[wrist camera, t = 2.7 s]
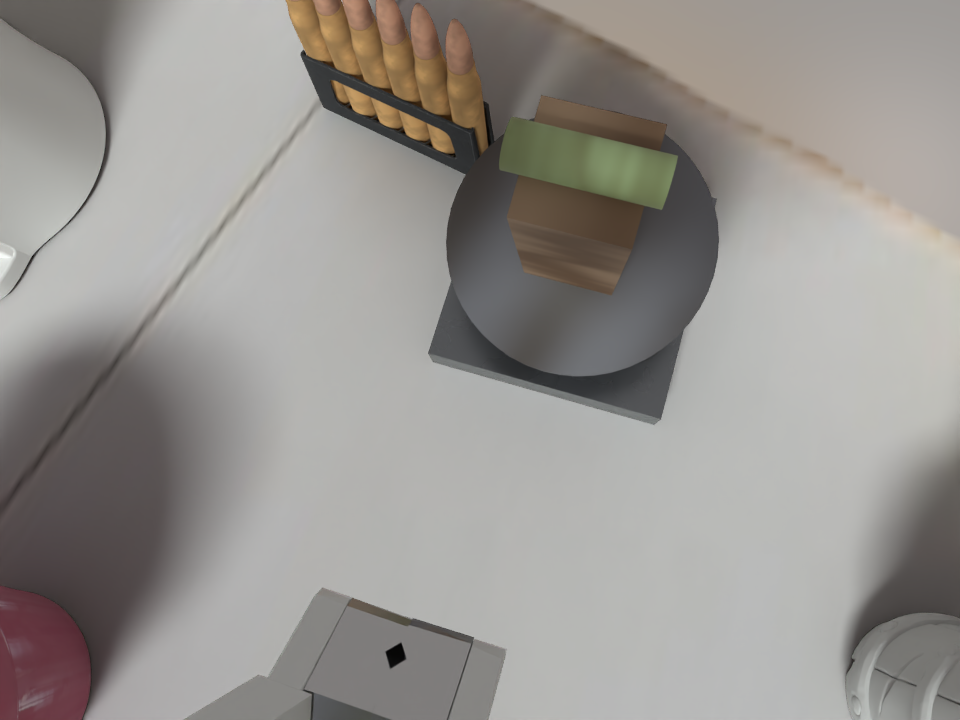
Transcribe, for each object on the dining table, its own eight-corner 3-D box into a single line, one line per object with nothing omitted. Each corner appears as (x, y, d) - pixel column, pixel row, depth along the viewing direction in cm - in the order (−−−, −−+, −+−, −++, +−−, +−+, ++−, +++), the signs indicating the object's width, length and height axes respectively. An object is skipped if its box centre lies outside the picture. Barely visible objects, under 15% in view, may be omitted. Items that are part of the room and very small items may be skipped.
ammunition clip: (497, 155, 42) (485, 11, 30) (481, 182, 42) (463, 47, 30) (338, 81, 44) (268, -82, 32) (322, 106, 43) (245, -49, 32)
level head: (420, 337, 35) (336, 300, 22) (490, 93, 35) (447, -84, 22) (672, 407, 33) (740, 412, 20) (743, 152, 33) (854, -1, 21)
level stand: (433, 361, 39) (418, 337, 34) (496, 162, 42) (492, 111, 36) (654, 424, 38) (673, 408, 33) (707, 214, 40) (734, 168, 35)
